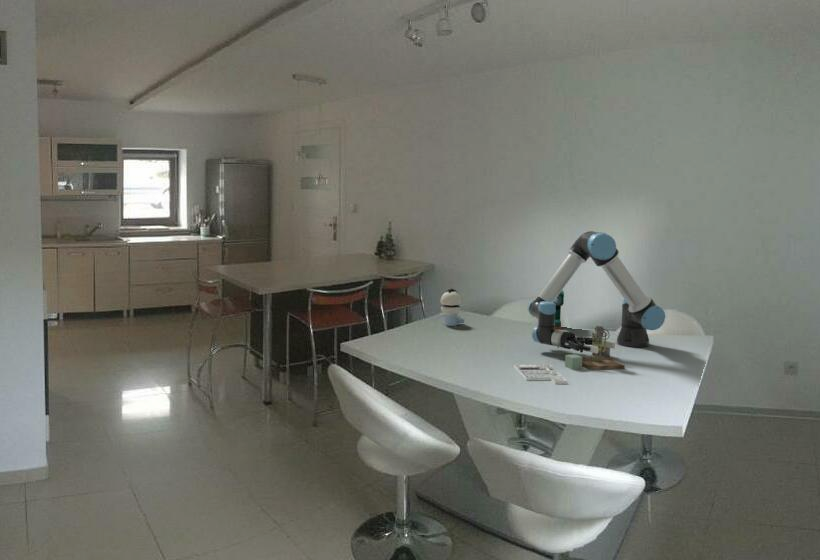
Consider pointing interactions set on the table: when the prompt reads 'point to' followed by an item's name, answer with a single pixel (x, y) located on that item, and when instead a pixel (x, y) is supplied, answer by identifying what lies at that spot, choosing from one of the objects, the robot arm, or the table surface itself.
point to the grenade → (598, 342)
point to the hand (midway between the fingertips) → (606, 347)
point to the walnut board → (601, 363)
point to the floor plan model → (554, 379)
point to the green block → (573, 361)
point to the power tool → (558, 309)
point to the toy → (451, 308)
